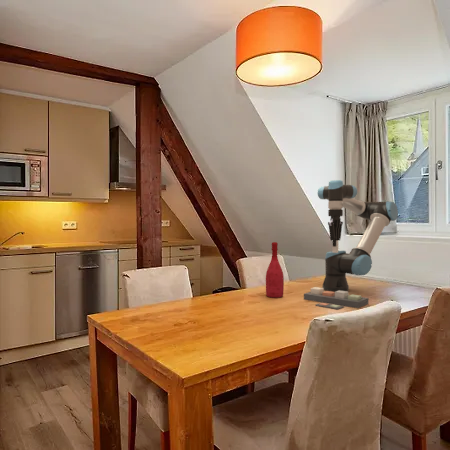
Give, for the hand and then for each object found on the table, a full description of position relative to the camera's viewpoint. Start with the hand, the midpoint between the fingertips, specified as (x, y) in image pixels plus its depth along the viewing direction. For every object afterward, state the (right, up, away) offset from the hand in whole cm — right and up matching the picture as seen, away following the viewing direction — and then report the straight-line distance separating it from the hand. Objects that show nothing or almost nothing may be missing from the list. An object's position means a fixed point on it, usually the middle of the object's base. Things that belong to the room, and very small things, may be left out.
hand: (335, 252), depth 213 cm
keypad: (-3, -25, -10) cm, 27 cm away
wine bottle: (-33, -25, +4) cm, 41 cm away
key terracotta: (-6, -24, -8) cm, 25 cm away
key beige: (0, -22, -12) cm, 26 cm away
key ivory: (-11, -22, -3) cm, 25 cm away
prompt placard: (-9, -25, -21) cm, 34 cm away
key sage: (+5, -24, -17) cm, 30 cm away
